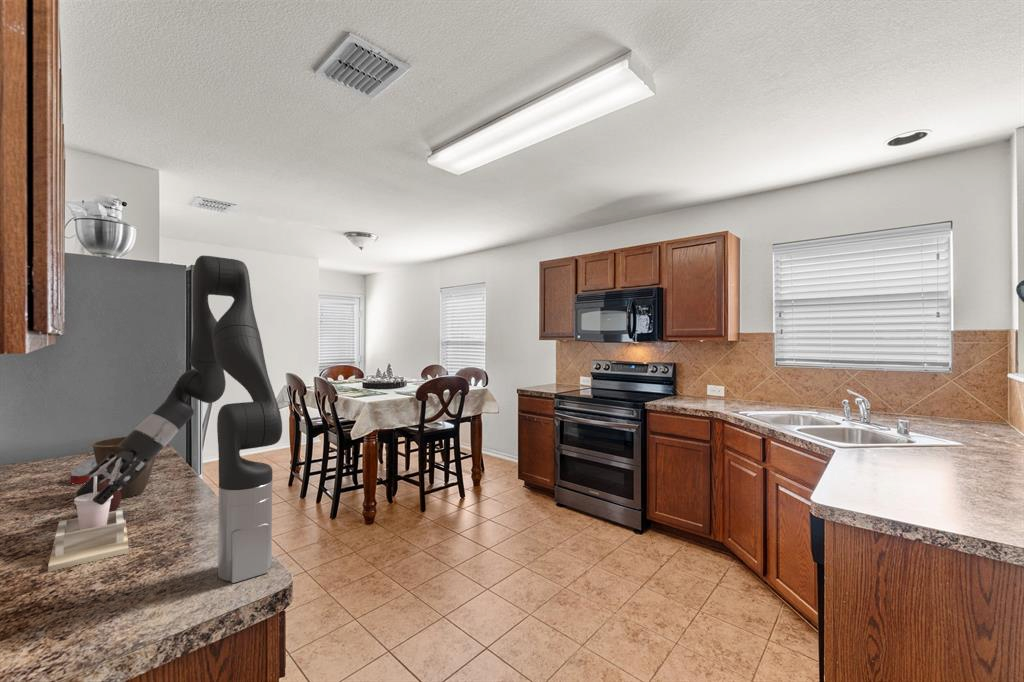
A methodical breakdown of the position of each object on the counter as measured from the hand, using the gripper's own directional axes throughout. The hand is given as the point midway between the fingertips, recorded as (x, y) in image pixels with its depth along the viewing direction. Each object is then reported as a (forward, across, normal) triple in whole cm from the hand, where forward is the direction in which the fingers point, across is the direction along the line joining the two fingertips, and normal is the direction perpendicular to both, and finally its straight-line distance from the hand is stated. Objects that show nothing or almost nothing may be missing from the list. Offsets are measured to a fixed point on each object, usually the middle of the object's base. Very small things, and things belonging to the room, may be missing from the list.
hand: (88, 499), depth 99 cm
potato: (+2, -18, +14) cm, 23 cm away
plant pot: (-7, -33, +22) cm, 40 cm away
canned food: (-8, -60, +23) cm, 64 cm away
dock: (+7, 0, +8) cm, 10 cm away
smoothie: (+6, 0, +7) cm, 9 cm away
